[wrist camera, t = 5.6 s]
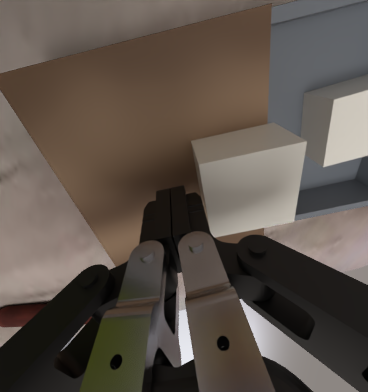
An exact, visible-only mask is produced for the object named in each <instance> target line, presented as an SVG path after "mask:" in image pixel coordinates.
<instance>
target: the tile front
mask: <svg viewBox="0 0 368 392" xmlns="http://www.w3.org/2000/svg"><path fill="white" fill-rule="evenodd" d="M191 144H192V150H193V155H194V161H195V166H196V172H197V177H198V183H199V188H200V194H201V199H202V203H203V206H204V210H205V214H206V218H207V221H208V225H209V229H210V232H211V234H212V235H213V237H220V236H225V235H230V234H235V233H240V232H245V231H250V230H255V229H261V228H266V227H271V226H276V225H281V224H286V223H291V222H294V219H295V213H296V206H297V200H298V194H299V188H300V182H301V176H302V170H303V163H304V157H305V151H306V145H307V141H306V140H304V139H302V138H300V137H299V136H297V135H295V134H293V133H292V132H290V131H288V130H286V129H284V128H283V127H281V126H279V125H277V124H276V123H269V124H265V125H260V126H256V127H251V128H247V129H242V130H237V131H233V132H228V133H224V134H219V135H215V136H210V137H206V138H201V139H197V140H192V141H191Z"/></svg>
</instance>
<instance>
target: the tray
mask: <svg viewBox="0 0 368 392" xmlns="http://www.w3.org/2000/svg"><path fill="white" fill-rule="evenodd" d="M367 74H368V0H298V1H294V2H290V3H286V4H282V5H278V6H274V7H272V11H271V39H270V68H269V96H268V124H269V123H276V124H277V125H279V126H281V127H283V128H284V129H286V130H288V131H290V132H292V133H293V134H295V135H297V136H299V137H300V138H301V126H302V113H303V100H304V93H305V92H309V91H312V90H316V89H319V88H323V87H326V86H329V85H333V84H336V83H340V82H343V81H347V80H350V79H353V78H357V77H360V76H364V75H367ZM364 206H368V156H364V157H361V158H357V159H353V160H349V161H345V162H341V163H338V164H334V165H330V166H326V167H322V166H321V165H319V164H318V163H316V162H315V161H313V160H312V159H310V158H309V157H307V156H306V155H305V157H304V163H303V170H302V176H301V182H300V188H299V194H298V200H297V206H296V213H295V219H294V221H296V220H301V219H306V218H310V217H315V216H320V215H325V214H330V213H335V212H340V211H345V210H349V209H354V208H359V207H364Z"/></svg>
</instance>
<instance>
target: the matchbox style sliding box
mask: <svg viewBox="0 0 368 392" xmlns="http://www.w3.org/2000/svg"><path fill="white" fill-rule="evenodd" d="M271 11H272V3H271V4H267V5H263V6H260V7H256V8H252V9H248V10H244V11H240V12H236V13H232V14H229V15H225V16H221V17H217V18H213V19H209V20H205V21H201V22H198V23H194V24H190V25H186V26H182V27H178V28H174V29H170V30H167V31H163V32H159V33H155V34H151V35H147V36H143V37H139V38H136V39H132V40H128V41H124V42H120V43H116V44H112V45H108V46H105V47H101V48H97V49H93V50H89V51H85V52H81V53H77V54H74V55H70V56H66V57H62V58H58V59H54V60H50V61H47V62H43V63H39V64H35V65H31V66H27V67H23V68H19V69H16V70H12V71H8V72H4V73H0V90H1V92H2V93H3V95H4V96H5V98H6V99H7V101H8V102H9V104H10V106H11V107H12V109H13V110H14V112H15V113H16V115H17V116H18V118H19V119H20V121H21V122H22V124H23V125H24V127H25V128H26V130H27V131H28V133H29V135H30V136H31V138H32V139H33V141H34V142H35V144H36V145H37V147H38V148H39V150H40V151H41V153H42V154H43V156H44V157H45V159H46V160H47V162H48V164H49V165H50V167H51V168H52V170H53V171H54V173H55V174H56V176H57V177H58V179H59V180H60V182H61V183H62V185H63V186H64V188H65V190H66V191H67V193H68V194H69V196H70V197H71V199H72V200H73V202H74V203H75V205H76V206H77V208H78V209H79V211H80V212H81V214H82V215H83V217H84V219H85V220H86V222H87V223H88V225H89V226H90V228H91V229H92V231H93V232H94V234H95V235H96V237H97V238H98V240H99V241H100V243H101V244H102V246H103V248H104V249H105V251H106V252H107V254H108V255H109V257H110V258H111V260H112V261H113V263H114V264H115V266H116V267H117V266H119V265H121V264H123V263H125V262H127V261H128V260H129V257H130V254H131V252H132V251H133V249H134V248H135V247H136V246H138V245H139V241H140V234H141V227H142V223H143V222H142V220H143V213H144V208H145V207H146V205H147V204H148V202H151V201H156V191H158V190H163V189H168V188H170V189H171V188H172V187H177V186H182V185H184V187H185V191H186V194H189V193H194V192H196V193H197V194H198V195H199V196H201V194H200V188H199V183H198V177H197V172H196V166H195V161H194V155H193V150H192V144H191V141H192V140H197V139H201V138H206V137H210V136H215V135H219V134H224V133H228V132H233V131H237V130H242V129H247V128H251V127H256V126H260V125H265V124H268V96H269V68H270V39H271ZM248 235H262V236H264V228H261V229H255V230H250V231H245V232H240V233H235V234H230V235H225V236H220V237H215V238H216V239H217V240H219V241H222V242H226V243H238V242H239V241H240V240H241V239H242V238H244V237H245V236H248Z"/></svg>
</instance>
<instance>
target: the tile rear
mask: <svg viewBox="0 0 368 392" xmlns="http://www.w3.org/2000/svg"><path fill="white" fill-rule="evenodd" d="M301 138H302V139H304V140H306V141H307V145H306V151H305V155H306V156H307V157H309V158H310V159H312V160H313V161H315V162H316V163H318V164H319V165H321V166H322V167H326V166H330V165H334V164H338V163H341V162H345V161H349V160H353V159H357V158H361V157H364V156H368V74H367V75H364V76H360V77H357V78H353V79H350V80H347V81H343V82H340V83H336V84H333V85H329V86H326V87H323V88H319V89H316V90H312V91H309V92H305V93H304V100H303V113H302V126H301Z"/></svg>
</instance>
